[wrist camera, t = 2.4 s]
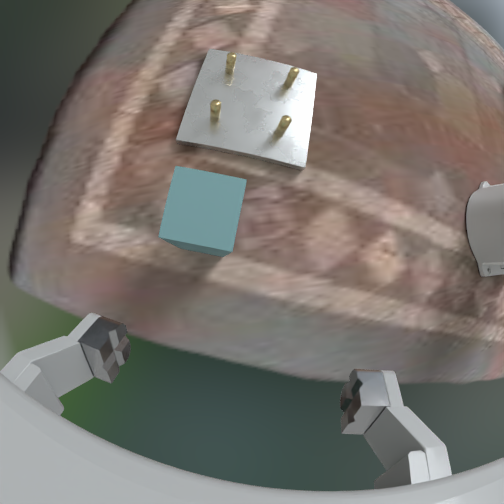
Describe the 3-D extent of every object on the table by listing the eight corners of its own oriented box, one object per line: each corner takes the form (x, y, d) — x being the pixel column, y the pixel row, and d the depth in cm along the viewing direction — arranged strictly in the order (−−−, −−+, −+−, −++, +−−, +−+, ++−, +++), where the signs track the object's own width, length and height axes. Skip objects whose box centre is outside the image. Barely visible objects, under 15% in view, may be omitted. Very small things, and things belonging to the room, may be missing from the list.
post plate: (314, 78, 35) (325, 60, 31) (302, 170, 34) (315, 157, 30) (209, 53, 33) (210, 33, 29) (176, 143, 32) (172, 126, 27)
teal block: (231, 214, 33) (246, 179, 19) (223, 256, 32) (232, 251, 18) (189, 206, 32) (175, 165, 18) (180, 248, 32) (158, 237, 18)
